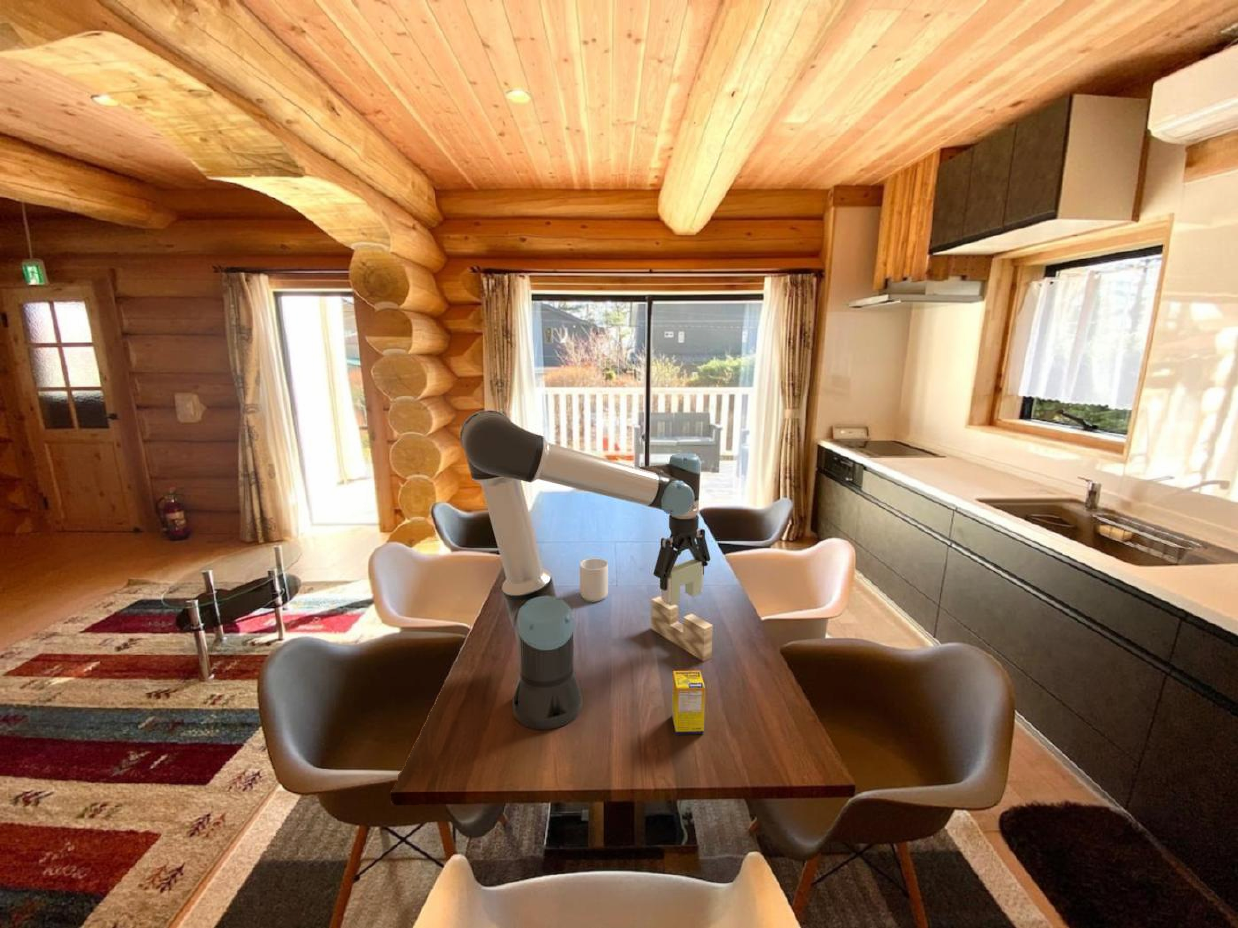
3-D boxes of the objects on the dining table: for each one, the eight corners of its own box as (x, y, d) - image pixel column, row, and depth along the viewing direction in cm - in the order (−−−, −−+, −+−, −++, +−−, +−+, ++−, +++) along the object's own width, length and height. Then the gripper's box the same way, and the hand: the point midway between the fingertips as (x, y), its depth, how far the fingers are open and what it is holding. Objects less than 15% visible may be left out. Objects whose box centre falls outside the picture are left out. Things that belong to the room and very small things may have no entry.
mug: (605, 603, 161) (605, 570, 158) (577, 601, 162) (577, 568, 159) (611, 586, 172) (611, 555, 170) (585, 585, 173) (584, 554, 171)
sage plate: (671, 605, 132) (671, 573, 130) (663, 601, 135) (663, 569, 133) (700, 593, 139) (701, 562, 137) (692, 589, 141) (693, 558, 139)
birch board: (711, 657, 133) (712, 625, 131) (703, 661, 131) (704, 629, 129) (658, 625, 148) (659, 596, 146) (651, 628, 146) (651, 599, 144)
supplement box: (698, 714, 112) (700, 669, 109) (704, 734, 106) (706, 687, 103) (671, 715, 111) (672, 669, 109) (675, 735, 106) (676, 687, 103)
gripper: (659, 528, 122) (658, 613, 127) (725, 509, 136) (722, 586, 141) (639, 520, 128) (639, 601, 132) (704, 502, 142) (702, 576, 146)
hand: (682, 593), depth 137 cm, fingers closed on sage plate, 11 cm apart
